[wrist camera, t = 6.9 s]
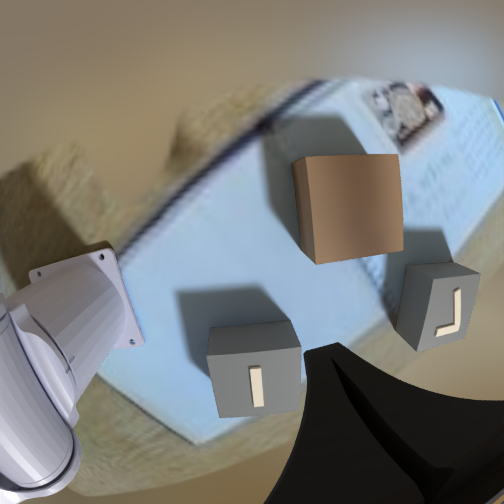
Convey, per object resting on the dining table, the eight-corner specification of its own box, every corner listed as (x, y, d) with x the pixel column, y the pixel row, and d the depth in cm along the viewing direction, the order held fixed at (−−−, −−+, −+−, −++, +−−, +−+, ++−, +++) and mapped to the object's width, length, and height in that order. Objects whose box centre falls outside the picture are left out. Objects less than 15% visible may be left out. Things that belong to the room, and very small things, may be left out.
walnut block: (300, 249, 19) (315, 264, 15) (290, 163, 18) (305, 156, 14) (375, 238, 19) (403, 250, 16) (369, 159, 18) (398, 154, 14)
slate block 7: (393, 329, 21) (417, 353, 17) (404, 264, 20) (434, 280, 16) (440, 320, 22) (465, 339, 18) (452, 261, 20) (482, 274, 16)
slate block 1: (221, 385, 22) (219, 419, 17) (210, 326, 20) (205, 357, 16) (290, 379, 22) (300, 411, 18) (289, 319, 20) (302, 348, 16)
